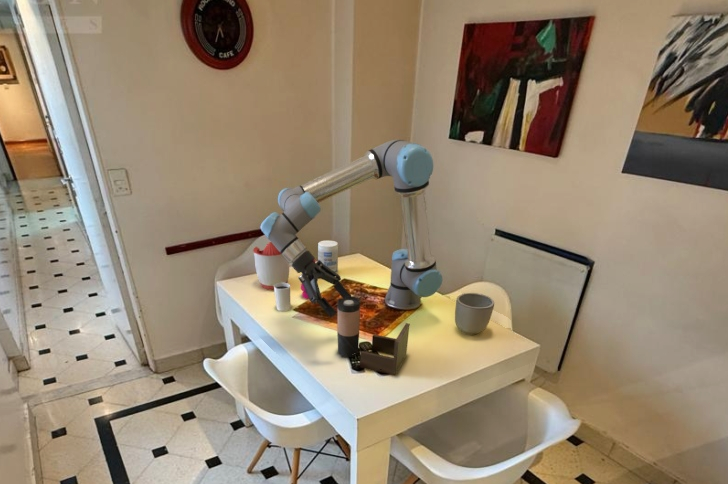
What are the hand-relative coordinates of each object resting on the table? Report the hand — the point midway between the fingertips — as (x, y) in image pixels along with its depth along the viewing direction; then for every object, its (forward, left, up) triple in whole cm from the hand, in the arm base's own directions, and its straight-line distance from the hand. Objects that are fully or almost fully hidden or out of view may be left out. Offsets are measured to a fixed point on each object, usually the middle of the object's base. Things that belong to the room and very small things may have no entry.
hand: (341, 306), depth 156 cm
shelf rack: (+1, +16, -17) cm, 23 cm away
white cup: (-23, -35, -18) cm, 46 cm away
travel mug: (0, +3, -18) cm, 18 cm away
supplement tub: (-66, -33, -18) cm, 76 cm away
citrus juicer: (-43, -51, -18) cm, 69 cm away
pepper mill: (-38, -30, -18) cm, 52 cm away
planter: (-33, +41, -18) cm, 55 cm away
